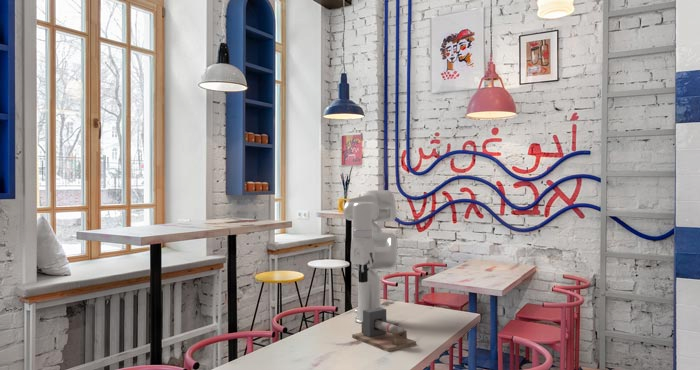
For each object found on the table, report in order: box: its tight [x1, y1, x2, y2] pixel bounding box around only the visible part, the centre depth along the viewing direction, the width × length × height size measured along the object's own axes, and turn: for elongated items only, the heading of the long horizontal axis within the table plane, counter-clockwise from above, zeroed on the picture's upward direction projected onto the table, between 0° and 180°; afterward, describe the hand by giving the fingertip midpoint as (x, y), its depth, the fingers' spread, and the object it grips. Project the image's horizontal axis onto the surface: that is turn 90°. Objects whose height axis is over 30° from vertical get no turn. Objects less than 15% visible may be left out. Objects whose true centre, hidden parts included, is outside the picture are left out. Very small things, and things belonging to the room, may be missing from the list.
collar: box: [363, 306, 387, 337], centre depth 187 cm, size 4×8×9 cm, turn 125°
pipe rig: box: [351, 319, 417, 353], centre depth 183 cm, size 21×13×7 cm, turn 35°
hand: (363, 281), depth 193 cm, fingers closed
